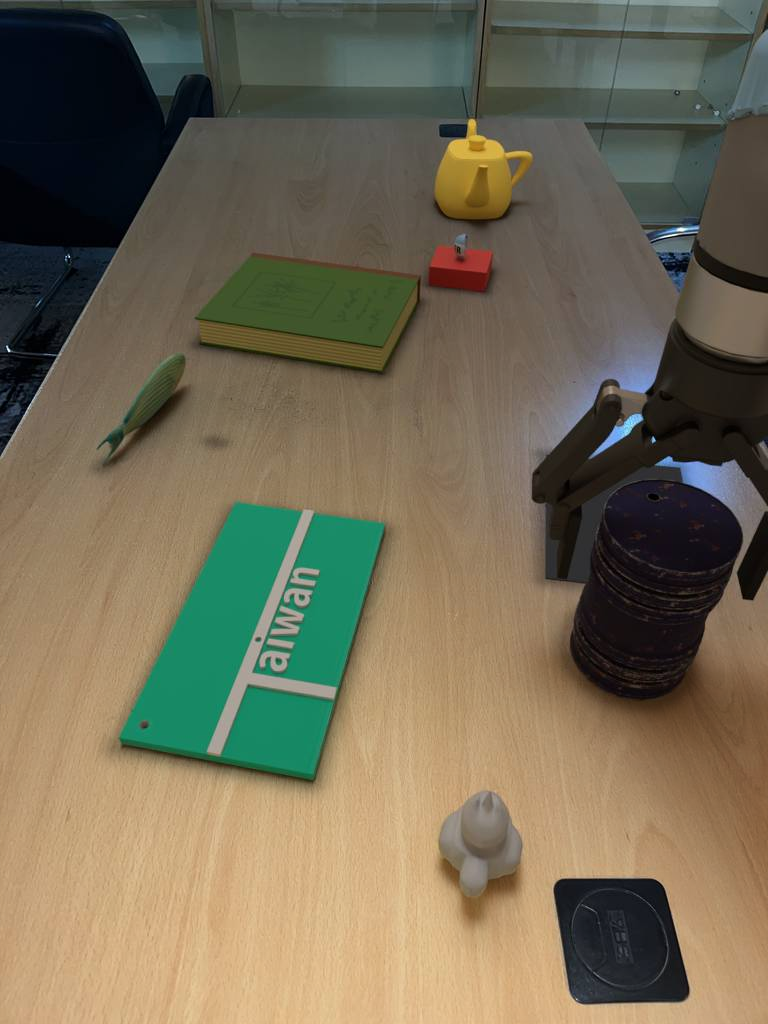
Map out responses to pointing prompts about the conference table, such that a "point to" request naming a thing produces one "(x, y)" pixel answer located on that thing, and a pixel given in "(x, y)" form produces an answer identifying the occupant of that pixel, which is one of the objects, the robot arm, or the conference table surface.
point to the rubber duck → (480, 842)
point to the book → (311, 311)
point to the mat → (595, 524)
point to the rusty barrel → (652, 586)
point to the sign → (261, 642)
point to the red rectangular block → (460, 266)
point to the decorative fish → (149, 399)
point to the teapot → (477, 177)
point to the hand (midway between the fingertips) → (652, 576)
